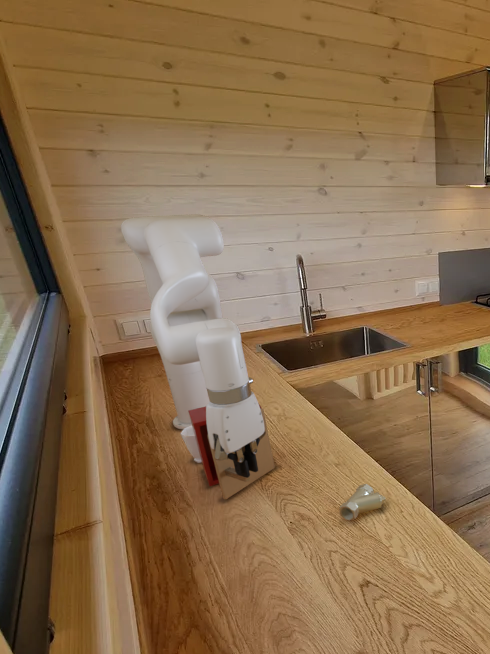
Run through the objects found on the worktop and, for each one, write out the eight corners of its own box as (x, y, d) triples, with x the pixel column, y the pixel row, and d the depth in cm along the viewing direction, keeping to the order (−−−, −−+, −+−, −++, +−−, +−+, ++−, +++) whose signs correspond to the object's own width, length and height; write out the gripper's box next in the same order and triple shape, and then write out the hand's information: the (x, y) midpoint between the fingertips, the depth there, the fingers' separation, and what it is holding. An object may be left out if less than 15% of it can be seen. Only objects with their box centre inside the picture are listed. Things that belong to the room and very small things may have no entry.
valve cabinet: (273, 466, 117) (261, 406, 111) (209, 486, 110) (193, 423, 104) (264, 452, 123) (253, 395, 117) (204, 470, 116) (188, 410, 110)
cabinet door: (294, 473, 114) (283, 413, 108) (246, 507, 103) (230, 442, 96) (272, 467, 117) (260, 407, 111) (223, 499, 105) (206, 435, 99)
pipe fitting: (388, 504, 104) (360, 496, 105) (388, 489, 102) (359, 481, 104) (369, 527, 97) (339, 518, 98) (369, 512, 95) (338, 503, 97)
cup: (189, 468, 117) (181, 439, 114) (186, 450, 125) (178, 422, 122) (220, 460, 121) (213, 431, 117) (216, 443, 128) (209, 415, 125)
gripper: (247, 375, 102) (263, 451, 109) (180, 404, 89) (202, 488, 96) (274, 380, 99) (288, 458, 106) (208, 412, 86) (229, 498, 93)
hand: (247, 472), depth 101 cm, fingers closed
